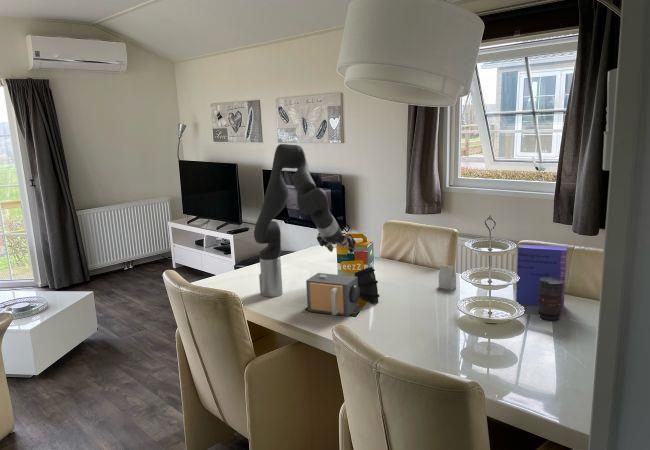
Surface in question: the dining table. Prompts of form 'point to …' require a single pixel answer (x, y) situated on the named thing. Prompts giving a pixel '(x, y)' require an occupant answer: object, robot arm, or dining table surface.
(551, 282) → the camera lens
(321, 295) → the side door
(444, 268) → the light grey rectangular block
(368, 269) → the black ridged panel
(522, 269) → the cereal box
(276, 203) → the robot arm
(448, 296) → the dining table surface
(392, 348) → the dining table surface
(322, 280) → the grey hinged door box
